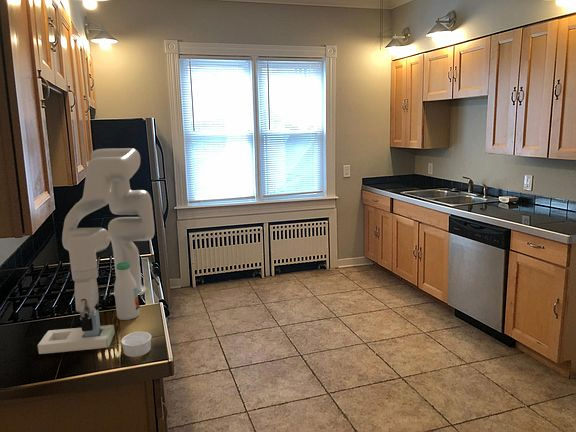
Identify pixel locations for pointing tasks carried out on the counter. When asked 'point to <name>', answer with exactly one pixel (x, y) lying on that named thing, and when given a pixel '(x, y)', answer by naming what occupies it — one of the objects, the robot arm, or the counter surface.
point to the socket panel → (74, 340)
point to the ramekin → (136, 344)
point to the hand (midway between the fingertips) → (91, 323)
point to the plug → (94, 324)
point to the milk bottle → (126, 293)
